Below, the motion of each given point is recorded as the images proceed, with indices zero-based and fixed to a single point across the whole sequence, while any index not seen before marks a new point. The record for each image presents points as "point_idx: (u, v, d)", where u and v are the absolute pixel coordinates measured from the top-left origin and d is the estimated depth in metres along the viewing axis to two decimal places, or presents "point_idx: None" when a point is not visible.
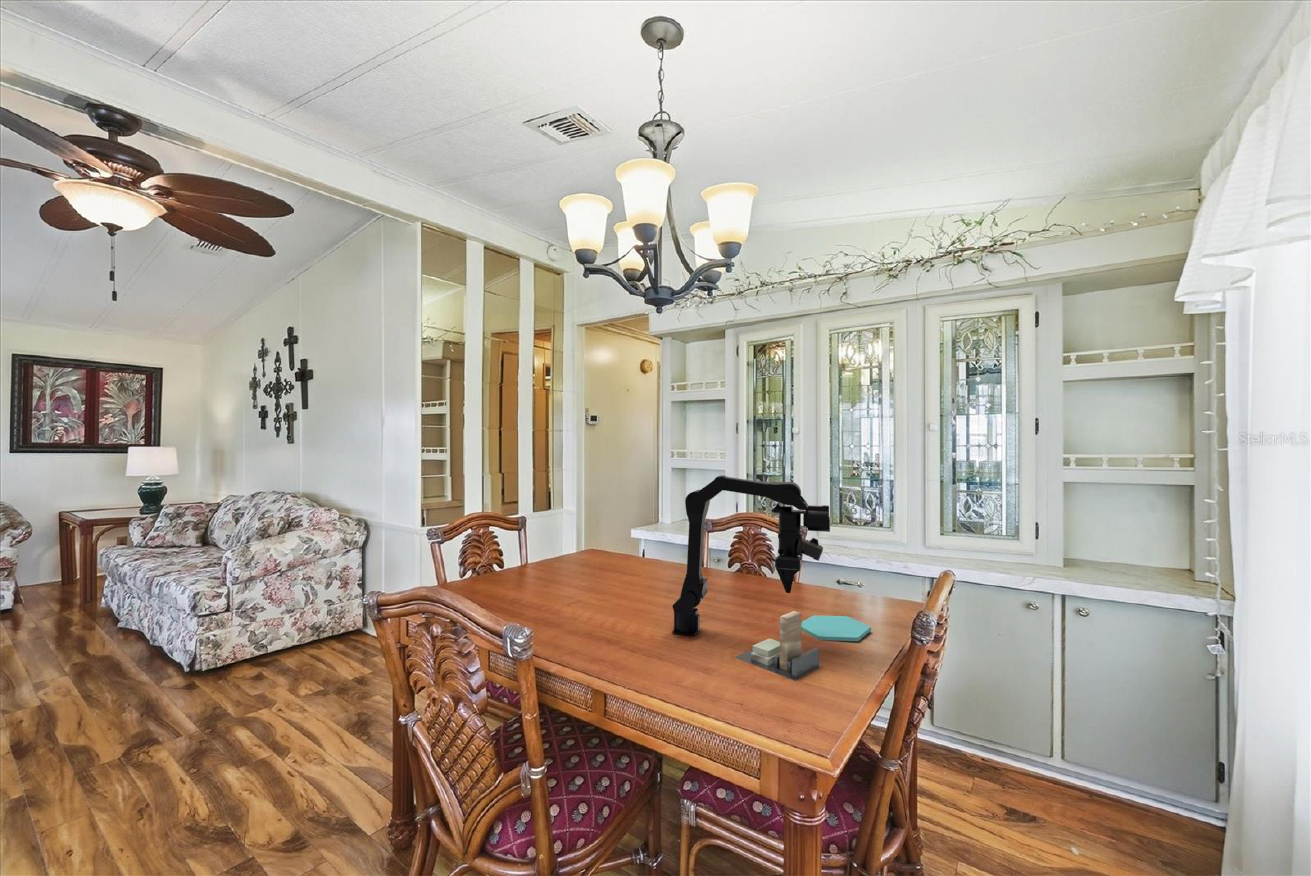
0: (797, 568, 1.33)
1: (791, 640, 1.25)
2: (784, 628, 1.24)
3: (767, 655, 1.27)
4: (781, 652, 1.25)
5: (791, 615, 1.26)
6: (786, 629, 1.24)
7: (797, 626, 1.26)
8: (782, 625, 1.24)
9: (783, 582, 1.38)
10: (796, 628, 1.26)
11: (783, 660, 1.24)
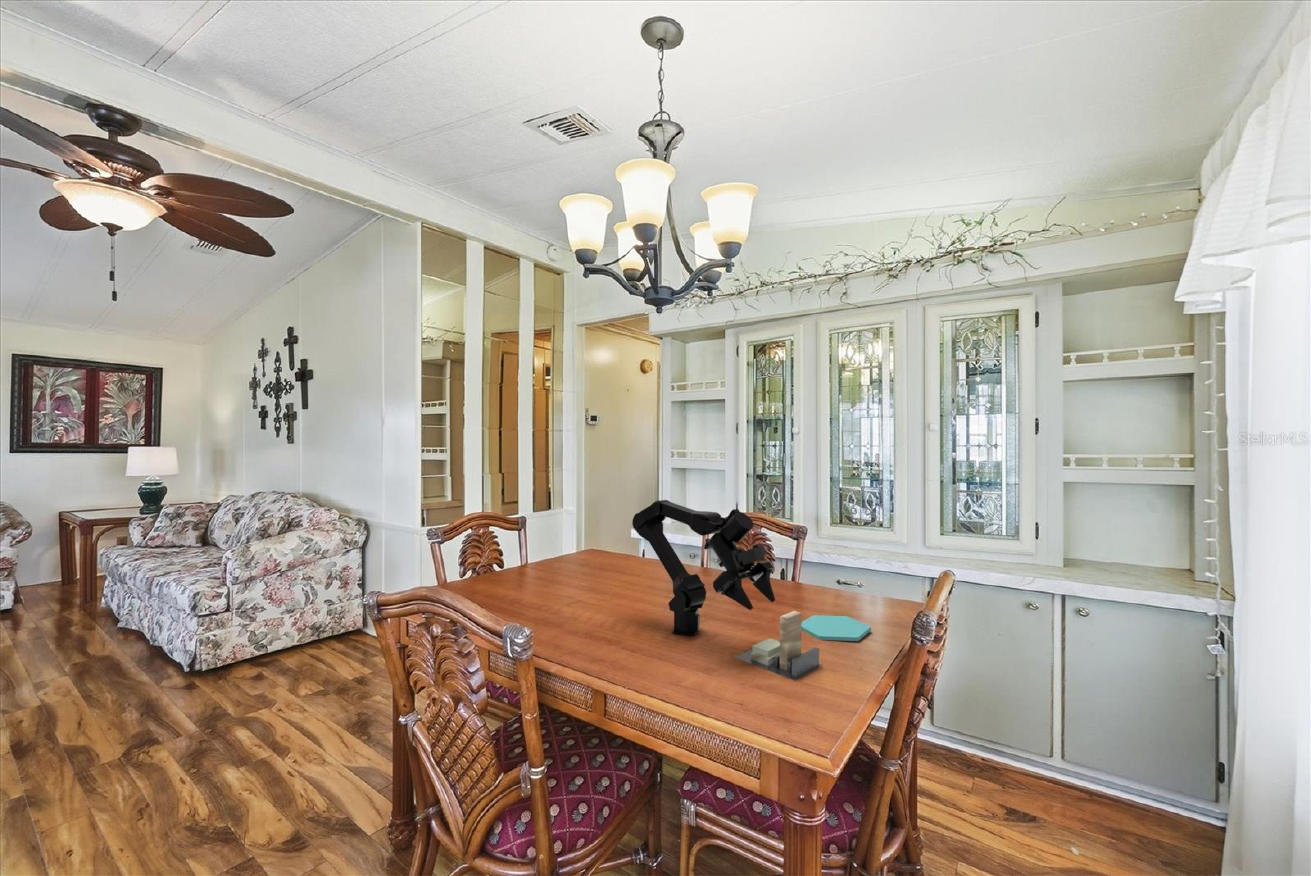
0: (727, 580, 1.28)
1: (791, 640, 1.25)
2: (784, 628, 1.24)
3: (767, 655, 1.27)
4: (781, 652, 1.25)
5: (791, 615, 1.26)
6: (786, 629, 1.24)
7: (797, 626, 1.26)
8: (782, 625, 1.24)
9: (739, 602, 1.30)
10: (796, 628, 1.26)
11: (783, 660, 1.24)
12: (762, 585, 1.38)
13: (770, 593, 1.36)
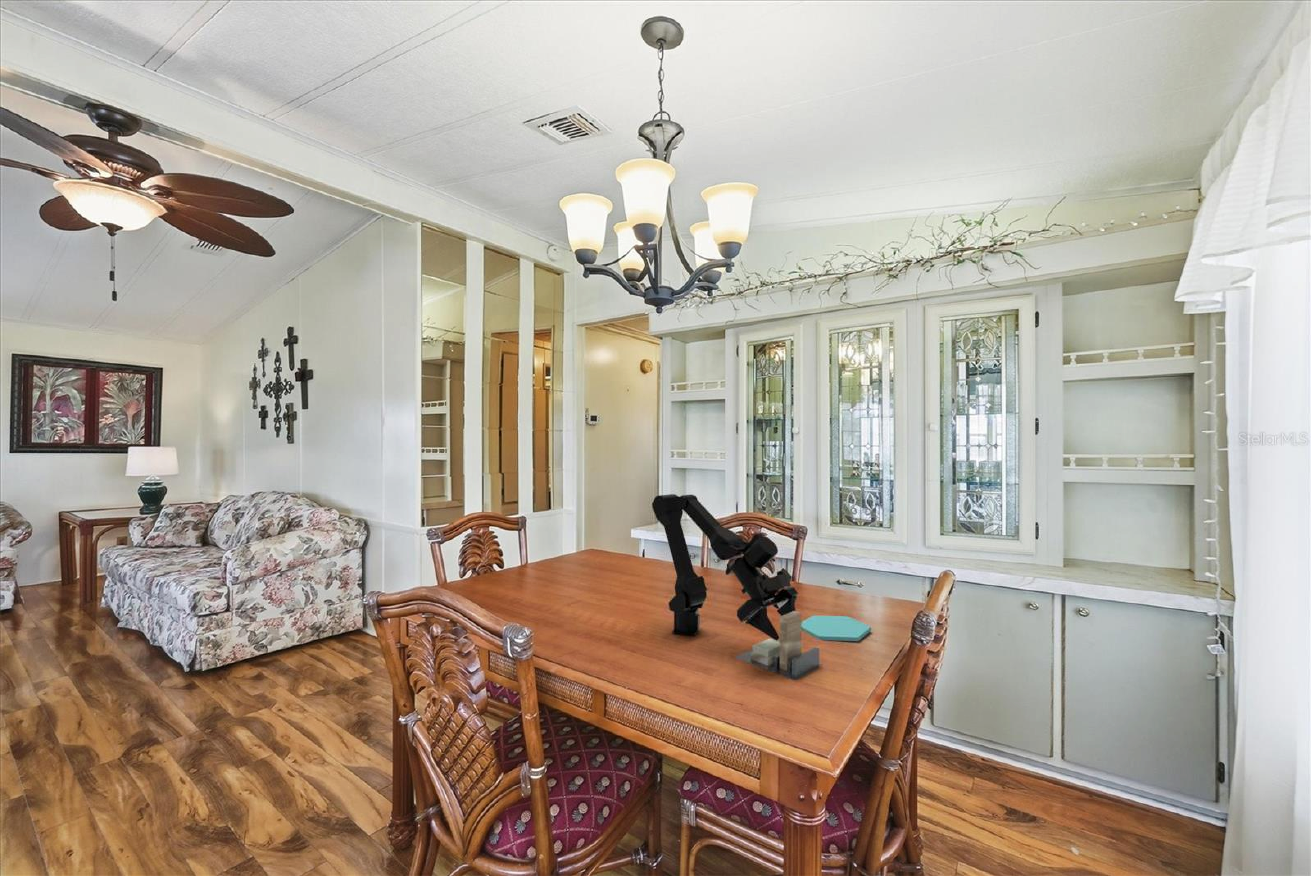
0: (752, 609, 1.23)
1: (791, 640, 1.25)
2: (784, 628, 1.24)
3: (767, 655, 1.27)
4: (781, 652, 1.25)
5: (791, 615, 1.26)
6: (786, 629, 1.24)
7: (797, 626, 1.26)
8: (782, 625, 1.24)
9: (765, 632, 1.25)
10: (796, 628, 1.26)
11: (783, 660, 1.24)
12: (787, 612, 1.33)
13: None
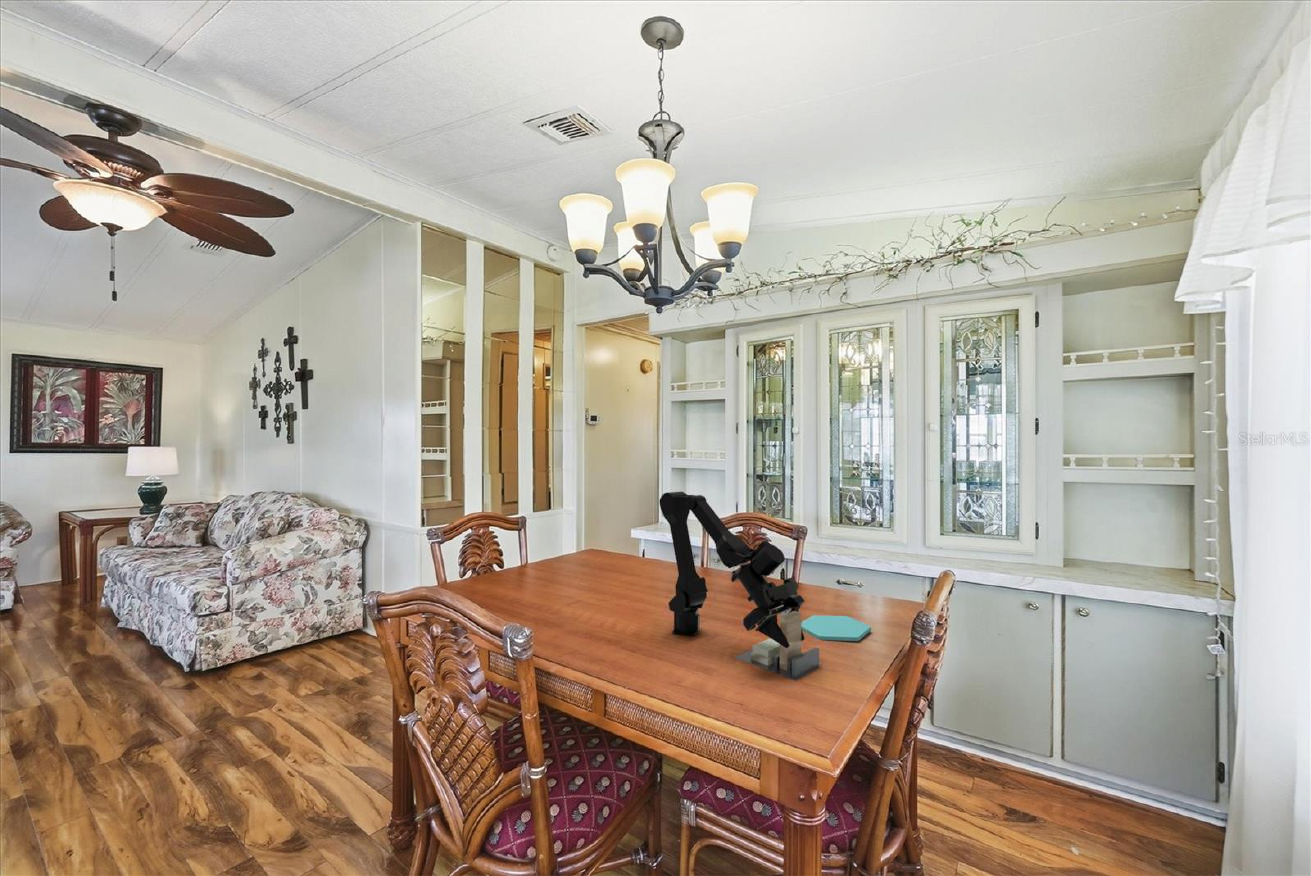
0: (759, 618, 1.22)
1: (791, 640, 1.25)
2: (784, 628, 1.24)
3: (767, 655, 1.27)
4: (781, 652, 1.25)
5: (791, 615, 1.26)
6: (786, 629, 1.24)
7: (797, 626, 1.26)
8: (782, 625, 1.24)
9: (775, 639, 1.24)
10: (796, 628, 1.26)
11: (783, 660, 1.24)
12: None
13: None
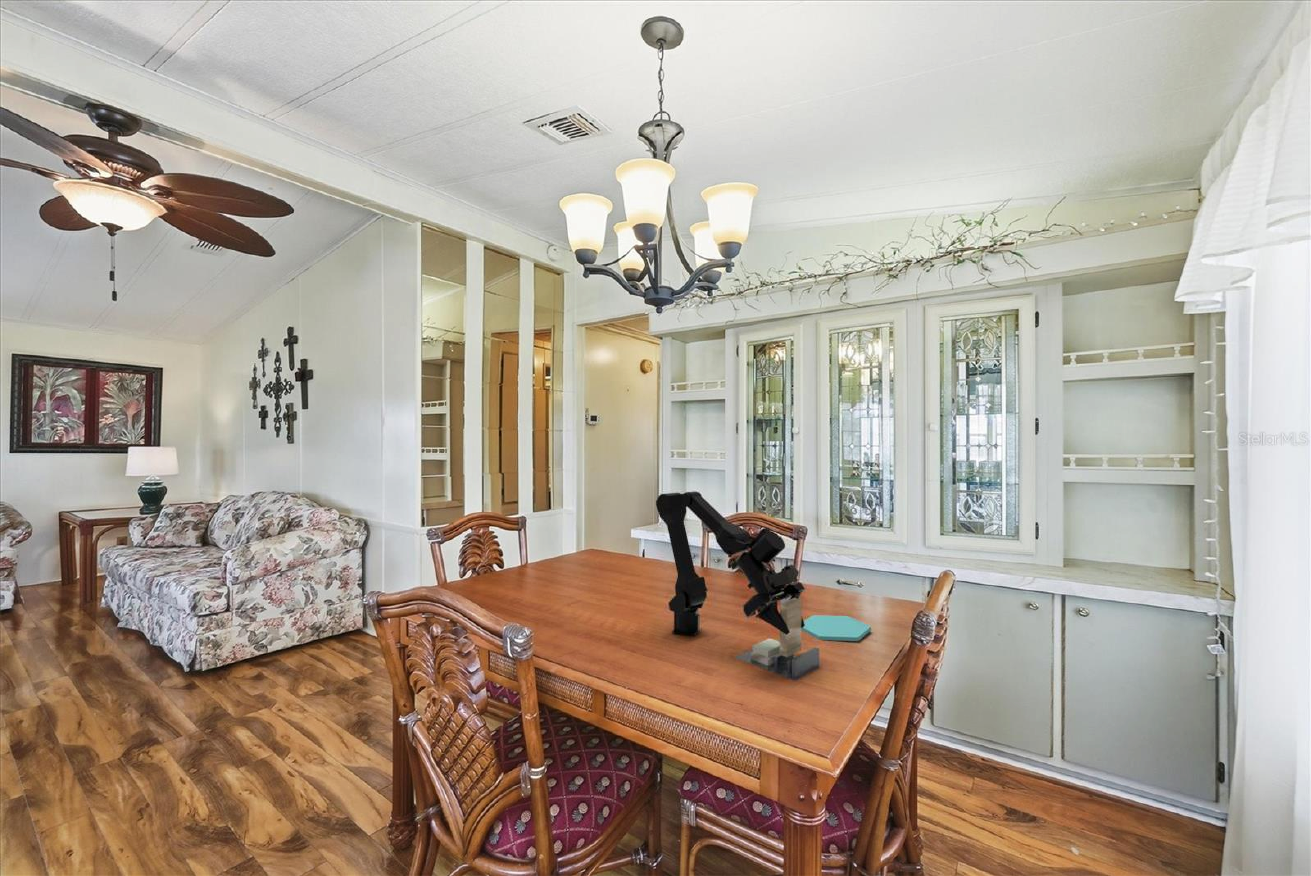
0: (759, 604, 1.22)
1: (791, 626, 1.25)
2: (784, 615, 1.24)
3: (767, 655, 1.27)
4: (781, 639, 1.25)
5: (791, 602, 1.26)
6: (786, 615, 1.24)
7: (797, 613, 1.26)
8: (782, 612, 1.24)
9: (775, 626, 1.24)
10: (796, 615, 1.26)
11: (783, 647, 1.24)
12: None
13: None
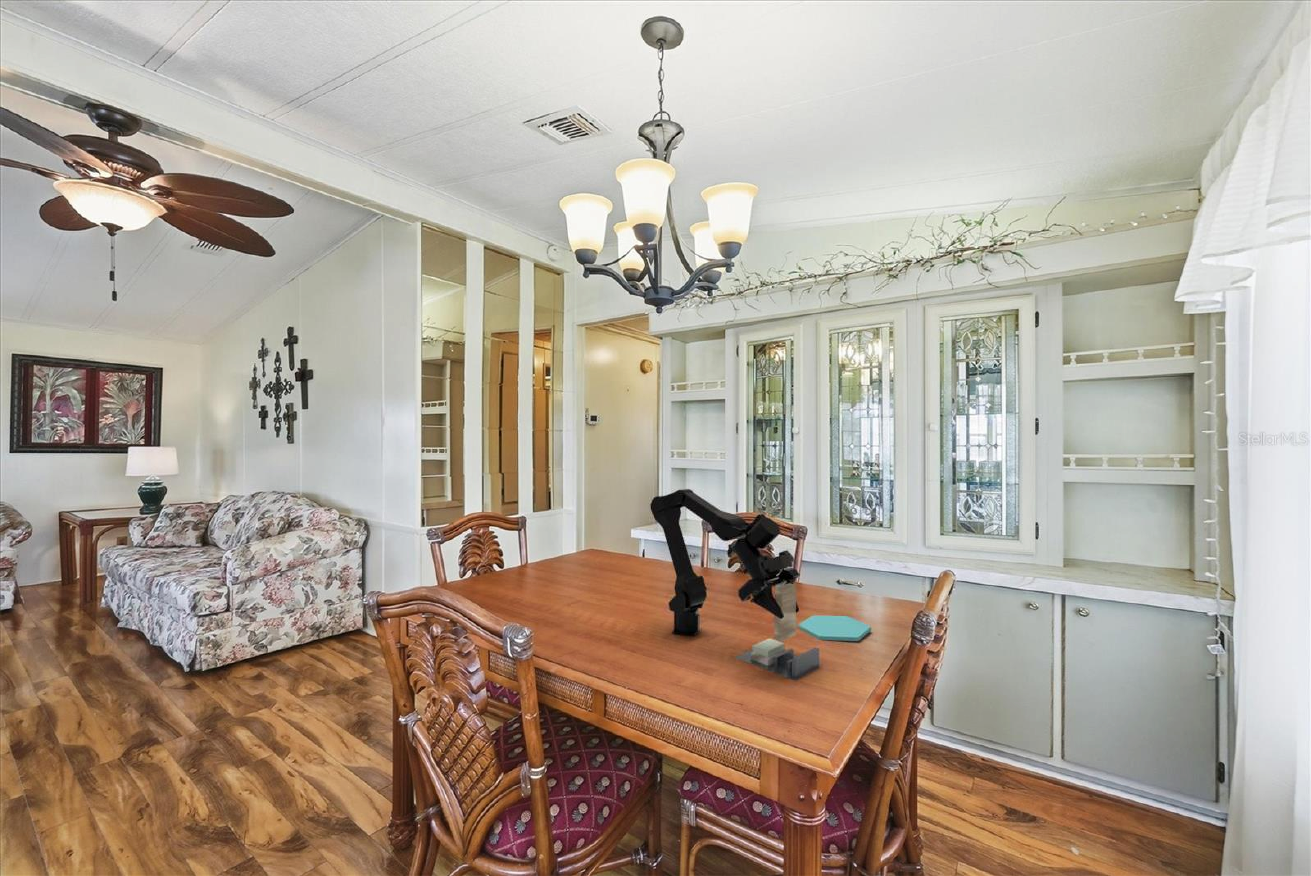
0: (754, 588, 1.23)
1: (786, 611, 1.26)
2: (778, 600, 1.25)
3: (767, 655, 1.27)
4: (776, 623, 1.26)
5: (786, 587, 1.27)
6: (781, 600, 1.25)
7: (792, 598, 1.27)
8: (777, 597, 1.26)
9: (769, 610, 1.26)
10: (791, 600, 1.27)
11: (778, 631, 1.25)
12: None
13: None
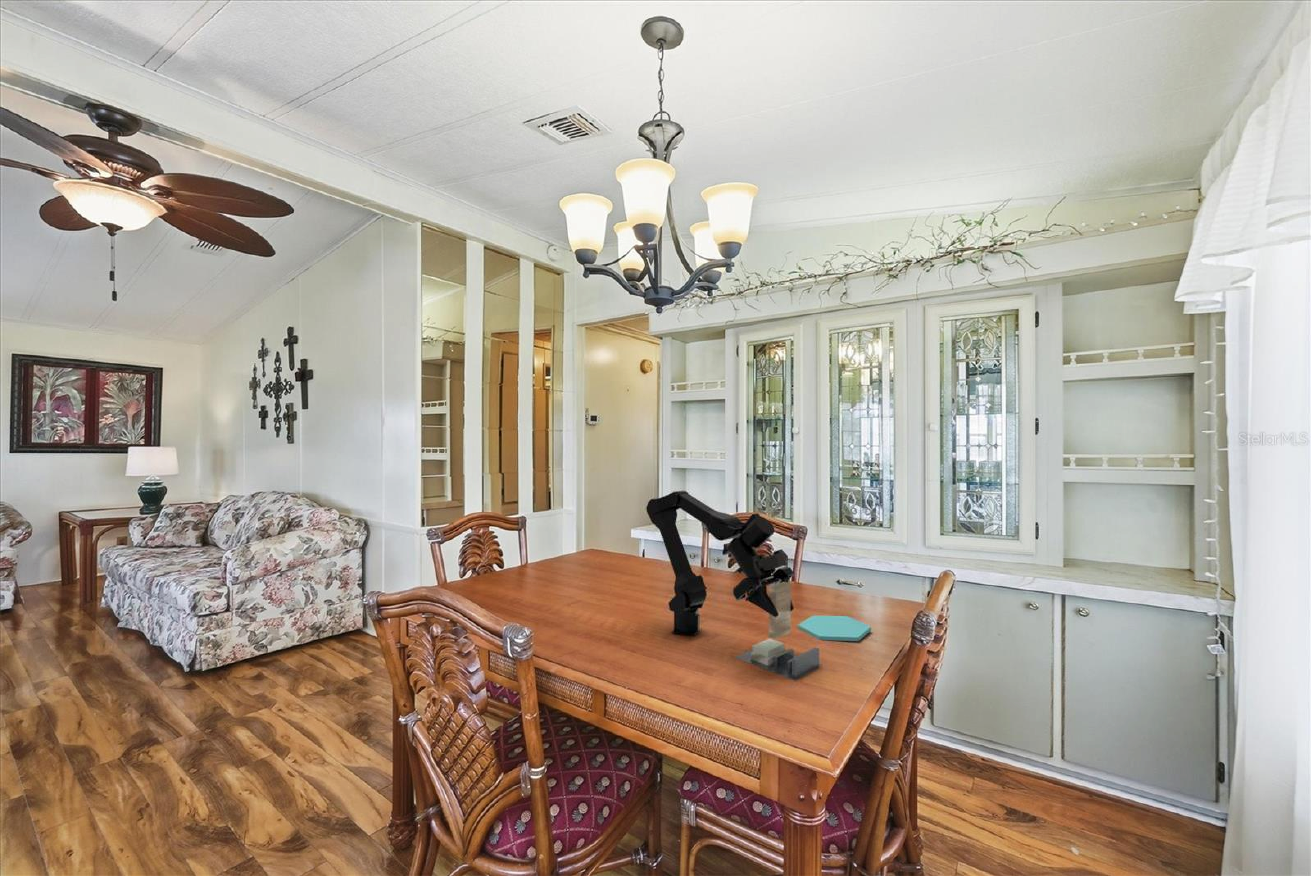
0: (748, 587, 1.24)
1: (780, 609, 1.27)
2: (773, 598, 1.26)
3: (767, 655, 1.27)
4: (770, 621, 1.27)
5: (780, 585, 1.28)
6: (775, 598, 1.26)
7: (786, 596, 1.29)
8: (771, 595, 1.27)
9: (764, 608, 1.27)
10: (785, 598, 1.28)
11: (772, 629, 1.26)
12: None
13: None
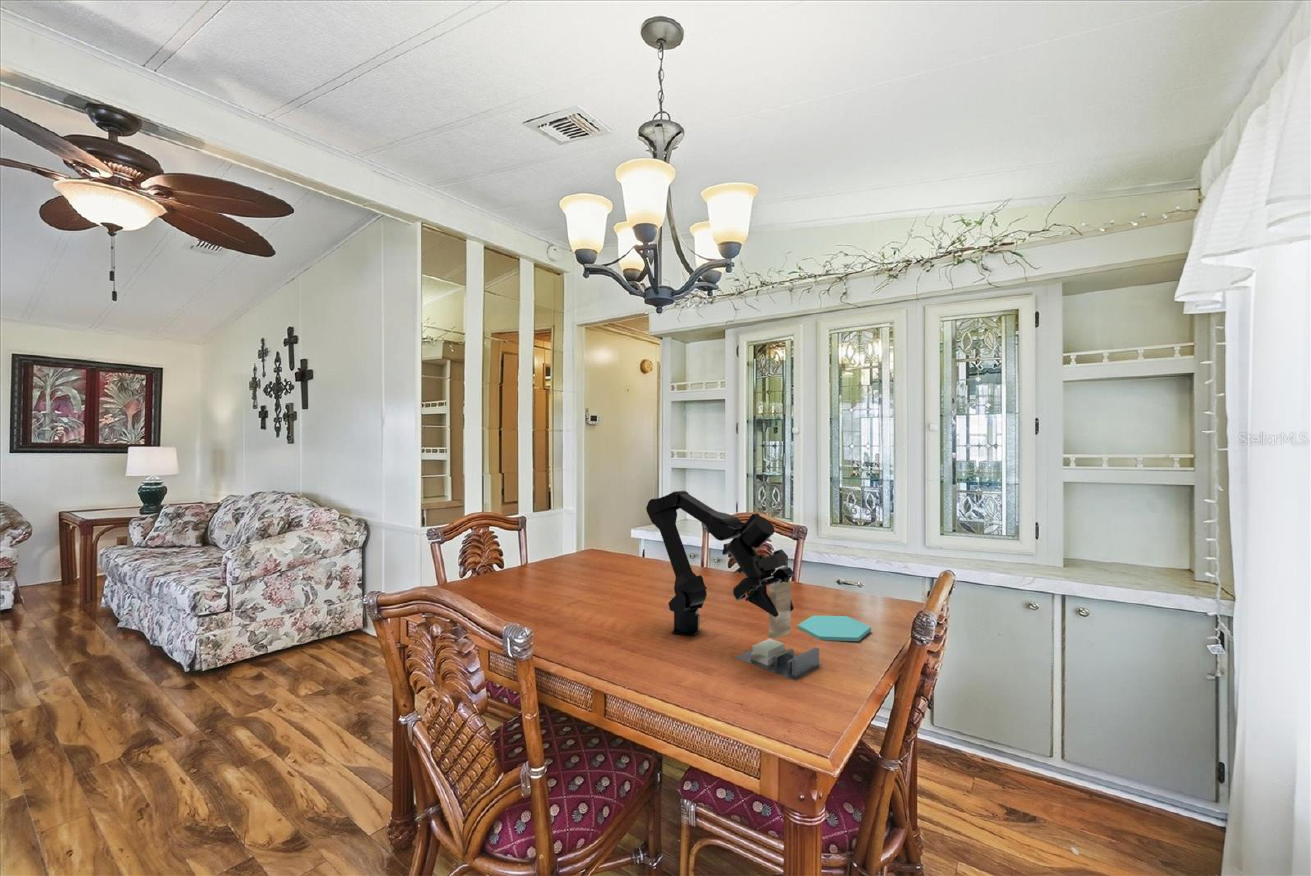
0: (748, 587, 1.24)
1: (780, 609, 1.27)
2: (773, 598, 1.26)
3: (767, 655, 1.27)
4: (770, 621, 1.27)
5: (780, 585, 1.28)
6: (775, 598, 1.26)
7: (786, 596, 1.29)
8: (771, 595, 1.27)
9: (764, 608, 1.27)
10: (785, 598, 1.28)
11: (772, 629, 1.26)
12: None
13: None
